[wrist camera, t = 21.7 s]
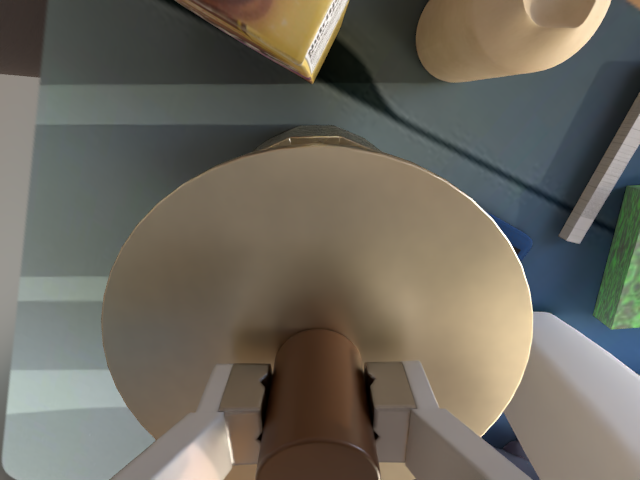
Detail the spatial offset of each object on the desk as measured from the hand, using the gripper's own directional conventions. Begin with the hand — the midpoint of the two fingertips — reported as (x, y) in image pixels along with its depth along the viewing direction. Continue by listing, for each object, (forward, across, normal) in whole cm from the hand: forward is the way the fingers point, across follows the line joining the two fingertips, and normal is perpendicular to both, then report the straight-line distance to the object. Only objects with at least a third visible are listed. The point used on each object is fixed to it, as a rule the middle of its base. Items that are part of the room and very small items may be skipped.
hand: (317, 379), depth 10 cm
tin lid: (+1, 0, 0) cm, 1 cm away
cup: (+17, -17, +12) cm, 27 cm away
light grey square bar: (+17, -21, -3) cm, 27 cm away
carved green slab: (+17, -29, +4) cm, 34 cm away
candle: (+17, -9, -11) cm, 22 cm away
